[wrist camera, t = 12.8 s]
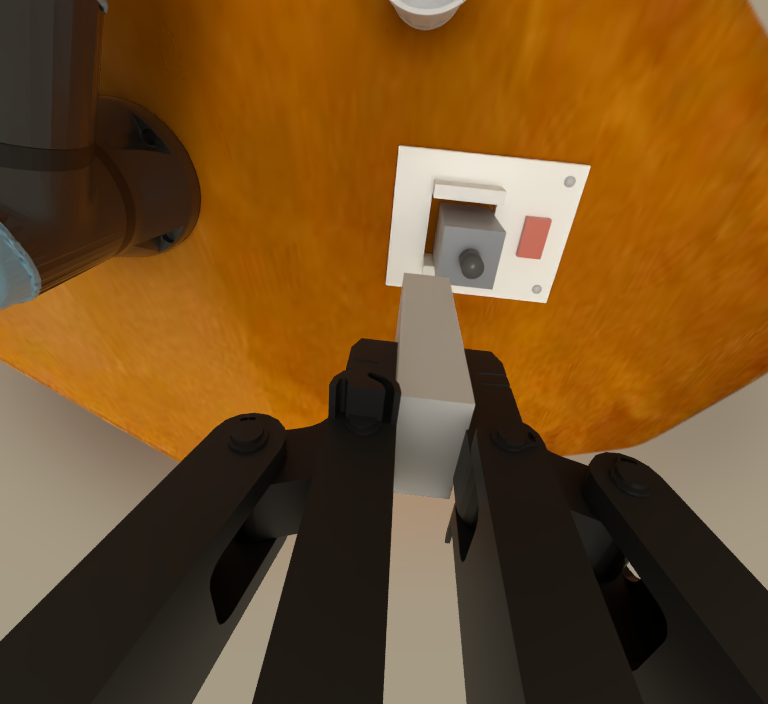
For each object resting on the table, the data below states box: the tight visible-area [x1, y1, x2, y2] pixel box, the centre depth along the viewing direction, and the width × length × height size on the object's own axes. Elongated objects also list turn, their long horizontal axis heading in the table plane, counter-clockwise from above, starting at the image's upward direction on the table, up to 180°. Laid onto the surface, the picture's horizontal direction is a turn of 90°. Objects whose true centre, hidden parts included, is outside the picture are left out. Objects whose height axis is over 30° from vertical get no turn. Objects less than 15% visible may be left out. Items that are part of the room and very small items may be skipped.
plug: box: [433, 202, 506, 290], centre depth 37 cm, size 5×5×12 cm
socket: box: [386, 145, 591, 303], centre depth 41 cm, size 18×14×4 cm
